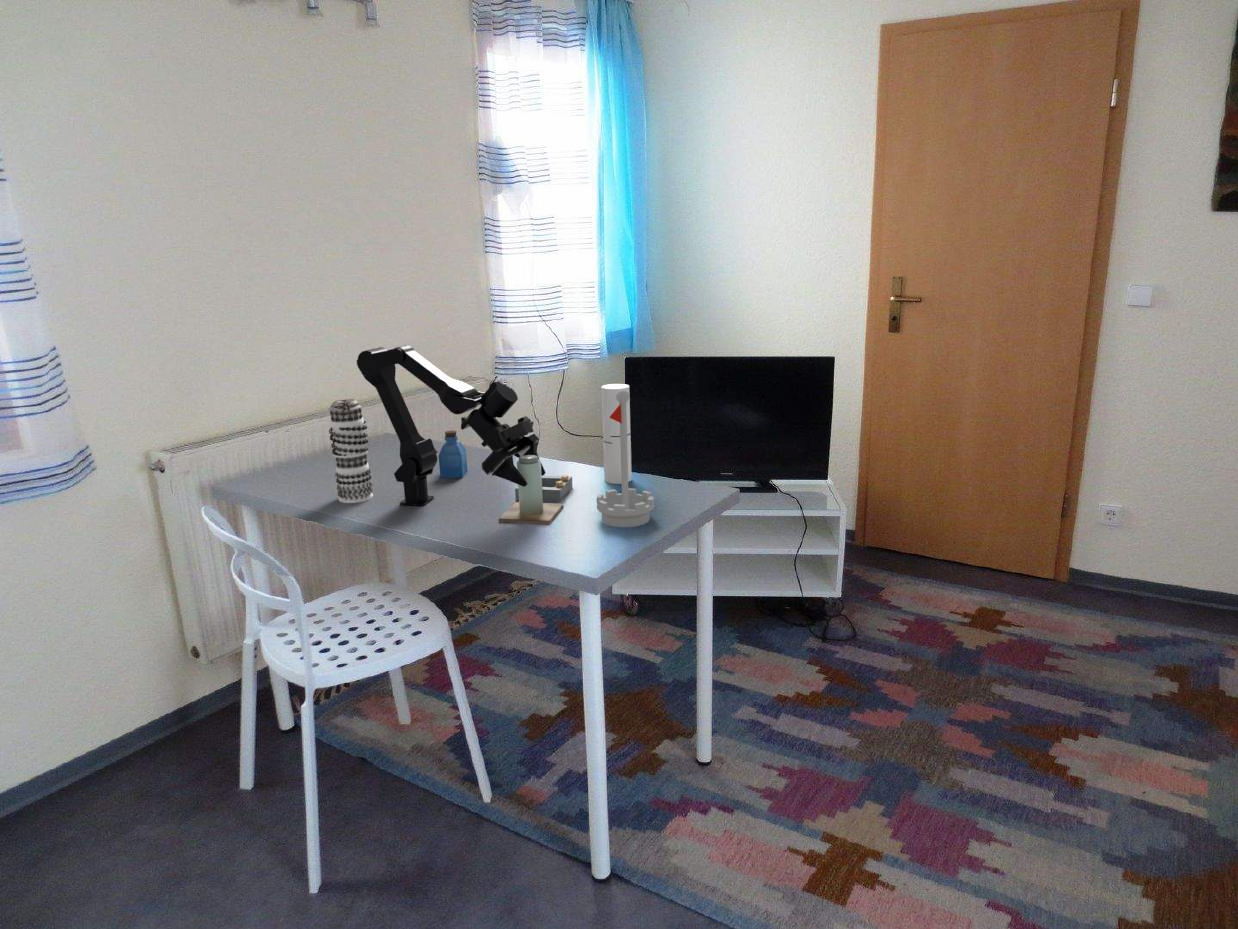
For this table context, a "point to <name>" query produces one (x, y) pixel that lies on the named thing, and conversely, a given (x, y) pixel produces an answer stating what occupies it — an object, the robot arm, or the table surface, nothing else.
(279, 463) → the table surface
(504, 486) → the table surface
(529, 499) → the grey-lidded mint jar
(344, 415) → the decorative candle
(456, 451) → the perfume bottle
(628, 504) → the flag stand
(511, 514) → the walnut pad
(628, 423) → the cylindrical container
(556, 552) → the table surface
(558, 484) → the grey square tray
